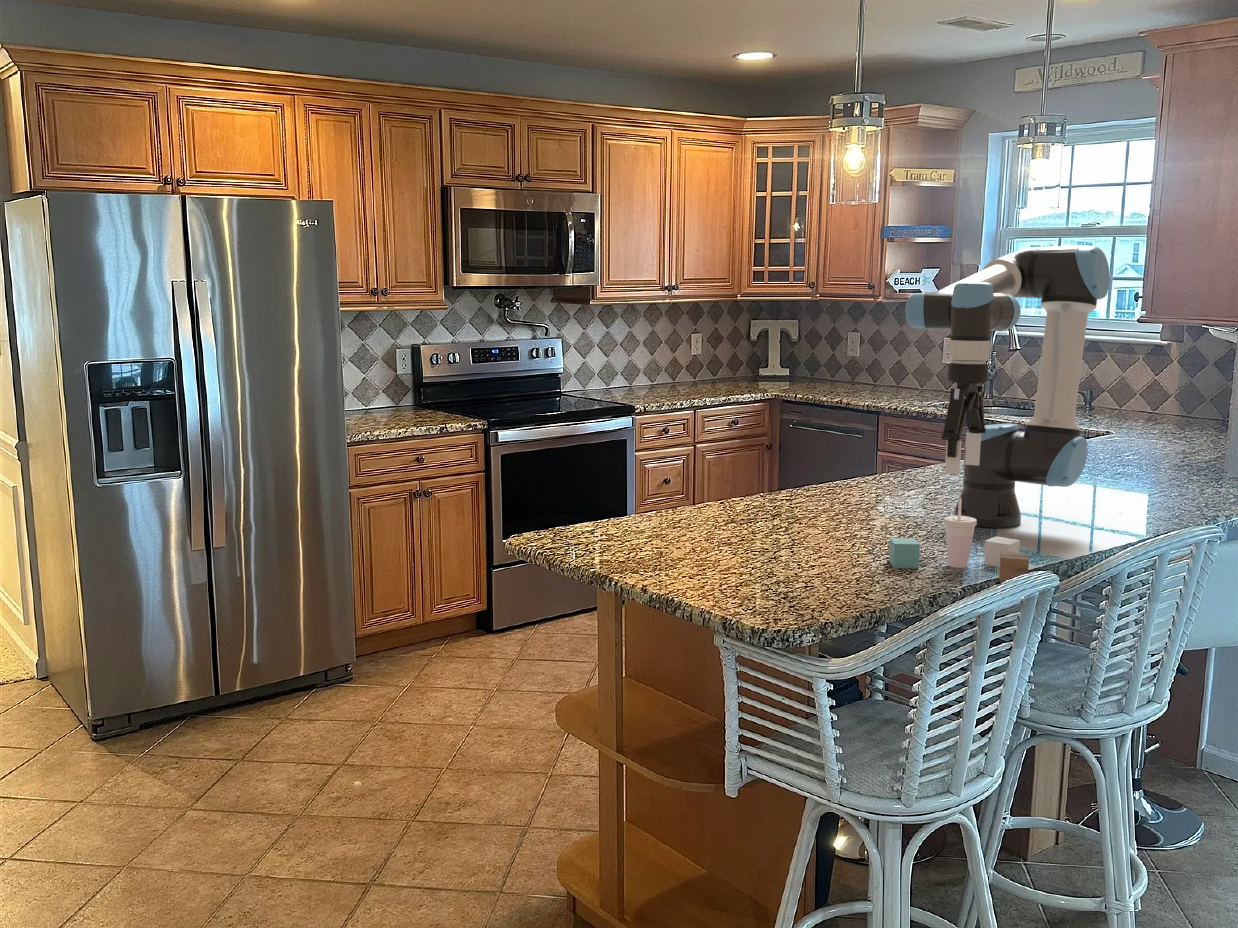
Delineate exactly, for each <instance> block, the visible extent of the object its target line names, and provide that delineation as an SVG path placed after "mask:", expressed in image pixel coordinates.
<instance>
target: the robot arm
mask: <svg viewBox="0 0 1238 928" xmlns="http://www.w3.org/2000/svg"><path fill="white" fill-rule="evenodd" d="M1110 277H1111V276H1110V268H1109V262H1108V260H1107V256H1106V254H1105V253H1104V251H1103V250H1102V249H1101V248H1099V247H1098V246H1096V245H1095V246H1094V245H1081V244H1077V245H1061V246H1059V245H1057V246H1032V247H1027V248H1023V249H1019V250H1015V251H1012V252H1010V253H1007V254H1005V255H1002V256H999V257H997V258H995V259H993V260H991V261H989V262H988V263H987V264H985V266H984V268H983V269H982V270H980V271H977V272H975V273H973V274H971V275H969V276H967V277H965V278H962V279H960V280H957V281H956V282H954V283H951V284H949V285H948V286H945V287H942V288H941V289H938V290H936V291H934V292H925V291H924V292H915V293H913V294H911V295H910V296H909V297H908V299H907V301H906V304H905V309H904V310H905V311H904V312H905V320H906V321H907V324H908V326H909V327H911V328H913V329H922V330H924V331H926V330H950V336H949V344H947V346H946V349H947V350H948V351H949V353H948V354H949V355H948V359H949V360H950V361H951V362H949V364H948V365H947V366H948V367H947V380H948V382H950V383H956V388H950V392H949V395H950V396H949V403H948V407H947V412H946V417H945V421H944V422H945V423H944V426H943V433H942V434H941V440H942V441H944V440H945V441H946V442H945V443H946V444H945V456H944V457H945V459H944V474H946V475H947V474H948V475H949V474H950V475H960V471H961V458H962V457H961V455H962V453H961V452H962V440H961V437H962V436H961V435H962V432H963V428H964V425H965V422H966V425H967V431H966V434H965V440H964V445H963V447H964V454H963V455H964V457H963V482H962V489H961V492H960V494H959V498H962V503H961V516H968V517H972V518H975V519H976V520H977V525H976V526H975V527H978V528H979V527H980V528H1011V527H1016V526H1019V525H1020V524H1021V523H1022V521H1021V520H1022V513H1021V509H1020V506H1019V501H1018V499H1017V495H1016V490H1015V489H1016V482H1017V483H1018V482H1020V483H1027V484H1032V485H1033V484H1035V485H1042V486H1047V487H1062V488H1065V487H1071V486H1072V485H1074V484H1075V483H1076V482H1077V481H1078V480H1079V478H1080V477H1081V475H1082V473H1083V472H1084V471H1083V470H1084V468H1085V466H1086V462H1087V459H1088V453H1089V450H1088V446H1089V445H1088V441H1087V439H1086V438H1085V437H1083V436H1082V435H1081V428H1080V427H1079V425H1078V424H1077V423H1076V421H1075V417H1076V409H1077V401H1078V395H1079V386H1080V377H1081V371H1082V363H1083V356H1084V355H1083V354H1084V347H1085V339H1086V333H1087V332H1086V331H1087V324H1088V318H1089V317H1088V316H1089V314H1090V313H1092V312H1093V311H1094V310H1096V308H1097V303H1098V300H1102V299H1104V298H1105V297H1106V296H1107V294H1108V291H1110V290H1109V289H1110V283H1111V282H1110V281H1111V280H1110V279H1111V278H1110ZM1016 298H1026V299H1027V298H1029V299H1030V298H1033V299H1040V300H1041V302H1040V306H1041V307H1042V308H1043V309H1044V310H1045V311H1046V318H1045V324H1044V325H1045V326H1044V333H1043V334H1044V335H1043V342H1042V351H1041V358H1040V365H1039V371H1038V372H1039V373H1038V383H1037V389H1036V397H1035V404H1034V405H1035V406H1034V414H1033V417H1032V418H1031V419H1030V420H1029V421H1027V422H1026V423H1025V428H1024V431H1019V430H1020V428H1019V426H1018V424H1017V423H995V424H986V422H985V421H986V420H985V411H984V400H983V399H984V398H983V397H984V396H983V389H984V386H983V385H982V384H985V383H988V381H989V380H988V379H989V367H990V366H989V365H988V364H987V362H989V361H990V355H991V354H990V351H991V349H990V348H991V332H1003V331H1006V330H1009V329H1011V328H1013V327H1014V326H1015V325H1016V324H1017V323H1018V322H1019V320H1020V317H1021V312H1022V311H1021V306H1020V302H1019V301H1018V299H1016ZM985 424H986V425H985ZM1080 435H1081V436H1080ZM959 498H958V500H957V503H956V505H955V507H954V509H953V516H958V505H959Z"/></svg>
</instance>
